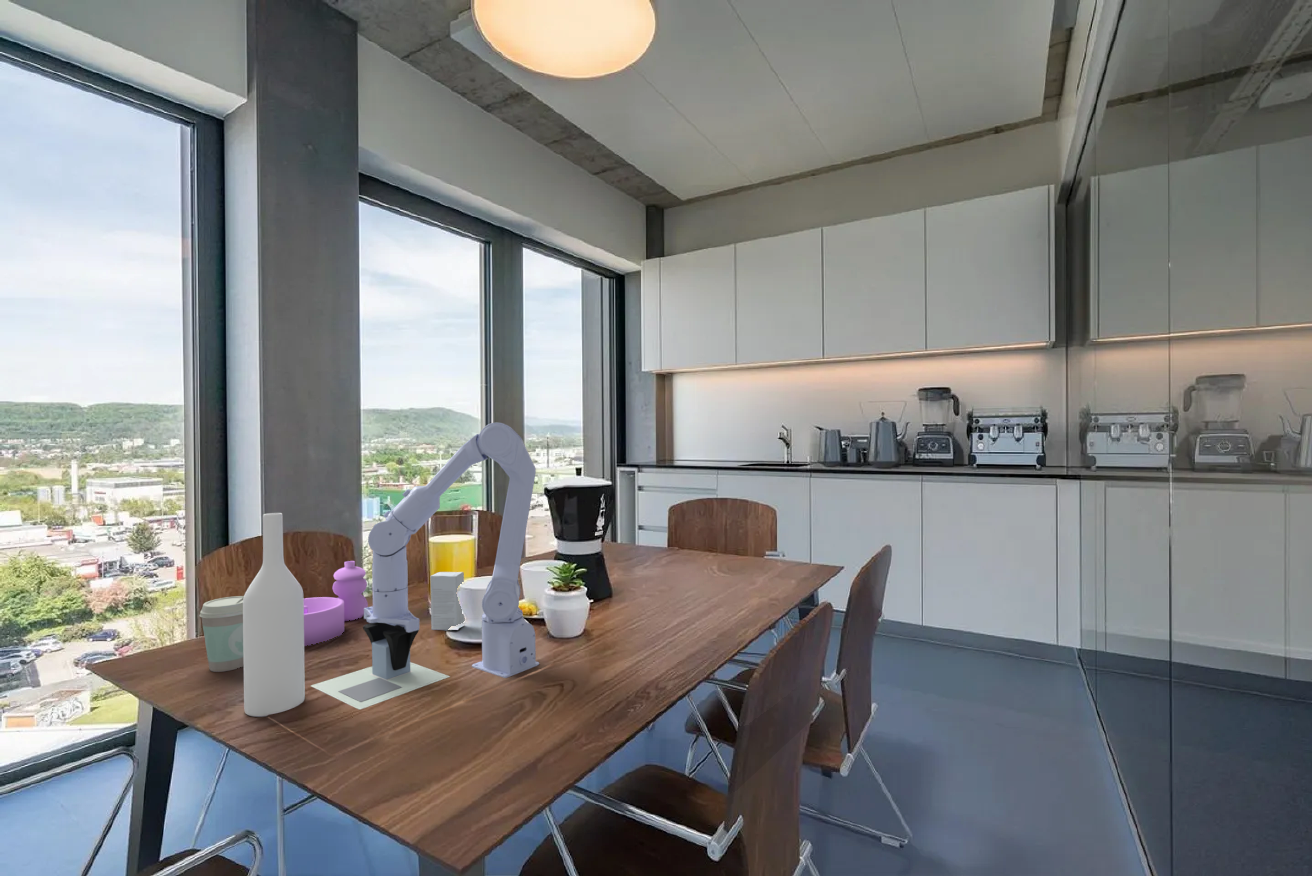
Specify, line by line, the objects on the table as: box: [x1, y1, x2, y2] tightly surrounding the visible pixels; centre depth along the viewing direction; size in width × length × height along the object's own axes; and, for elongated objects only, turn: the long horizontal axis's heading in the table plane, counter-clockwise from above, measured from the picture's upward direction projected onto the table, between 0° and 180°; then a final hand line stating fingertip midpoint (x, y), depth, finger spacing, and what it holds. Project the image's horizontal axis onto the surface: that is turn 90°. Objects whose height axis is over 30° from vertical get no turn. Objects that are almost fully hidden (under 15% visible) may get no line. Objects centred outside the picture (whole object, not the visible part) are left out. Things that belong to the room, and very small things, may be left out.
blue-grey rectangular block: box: [371, 639, 411, 680], centre depth 109 cm, size 4×4×6 cm
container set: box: [304, 560, 369, 647], centre depth 137 cm, size 25×15×13 cm, turn 166°
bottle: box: [243, 512, 306, 718], centre depth 97 cm, size 8×8×30 cm
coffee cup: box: [199, 595, 244, 673], centre depth 114 cm, size 8×9×12 cm
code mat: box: [310, 661, 451, 710], centre depth 106 cm, size 16×16×1 cm
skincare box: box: [429, 571, 466, 632], centre depth 136 cm, size 6×4×12 cm
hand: (391, 665), depth 109 cm, fingers closed on blue-grey rectangular block, 4 cm apart
